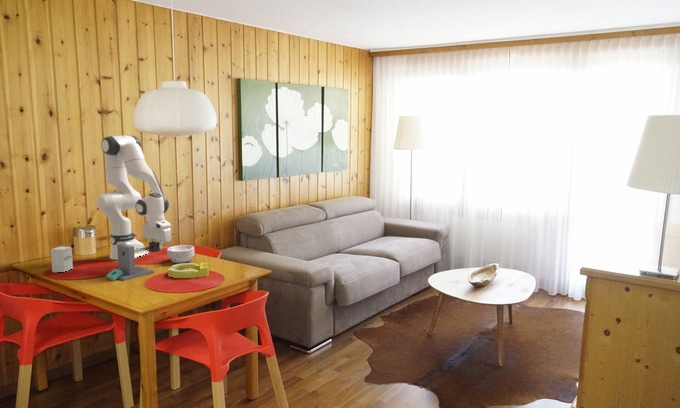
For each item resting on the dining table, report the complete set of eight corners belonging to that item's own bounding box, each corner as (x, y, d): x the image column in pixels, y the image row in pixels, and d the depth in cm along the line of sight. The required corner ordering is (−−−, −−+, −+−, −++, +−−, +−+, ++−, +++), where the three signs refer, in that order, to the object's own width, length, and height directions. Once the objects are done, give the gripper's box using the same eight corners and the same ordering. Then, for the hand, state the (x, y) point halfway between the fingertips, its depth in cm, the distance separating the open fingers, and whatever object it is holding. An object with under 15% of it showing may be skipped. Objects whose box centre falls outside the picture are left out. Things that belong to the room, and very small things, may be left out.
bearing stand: (137, 268, 295) (136, 239, 292) (153, 272, 287) (152, 243, 284) (107, 275, 280) (106, 246, 277) (124, 280, 272) (122, 250, 270)
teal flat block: (115, 268, 278) (106, 275, 274) (121, 270, 275) (112, 277, 271) (116, 271, 279) (107, 278, 275) (123, 273, 276) (114, 280, 272)
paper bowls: (162, 260, 311) (162, 247, 310) (187, 256, 321) (187, 243, 320) (174, 266, 300) (173, 252, 299) (199, 261, 310) (198, 248, 309)
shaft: (155, 249, 297) (155, 241, 296) (160, 250, 295) (159, 242, 294) (123, 257, 281) (122, 247, 280) (128, 258, 278) (127, 249, 278)
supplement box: (64, 273, 283) (62, 250, 281) (51, 272, 284) (50, 249, 282) (73, 269, 290) (72, 246, 288) (61, 268, 292) (60, 245, 290)
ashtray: (208, 278, 279) (207, 269, 278) (166, 280, 275) (166, 271, 274) (209, 269, 295) (208, 261, 294) (169, 271, 291) (169, 262, 290)
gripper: (139, 221, 296) (140, 245, 299) (163, 226, 285) (164, 251, 287) (149, 219, 302) (150, 243, 304) (173, 224, 290) (173, 249, 293)
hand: (157, 247), depth 296 cm, fingers closed on shaft, 4 cm apart
